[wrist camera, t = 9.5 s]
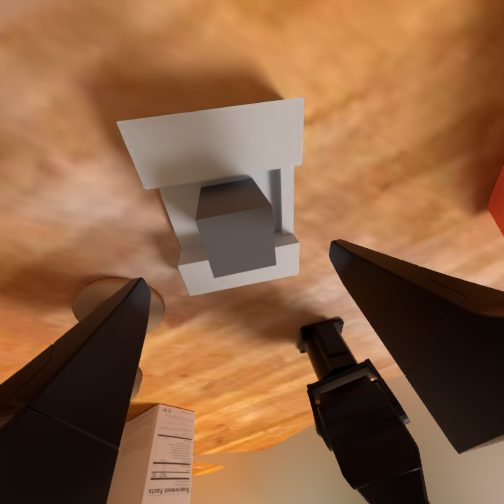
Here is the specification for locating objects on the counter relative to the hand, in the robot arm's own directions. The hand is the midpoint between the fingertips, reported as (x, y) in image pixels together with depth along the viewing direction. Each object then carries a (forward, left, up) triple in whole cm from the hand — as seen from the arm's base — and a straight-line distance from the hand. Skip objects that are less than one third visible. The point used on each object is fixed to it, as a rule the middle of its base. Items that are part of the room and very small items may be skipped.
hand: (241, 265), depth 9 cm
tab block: (0, 0, -8) cm, 8 cm away
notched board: (0, 0, -9) cm, 9 cm away
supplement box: (-39, +20, -9) cm, 45 cm away
